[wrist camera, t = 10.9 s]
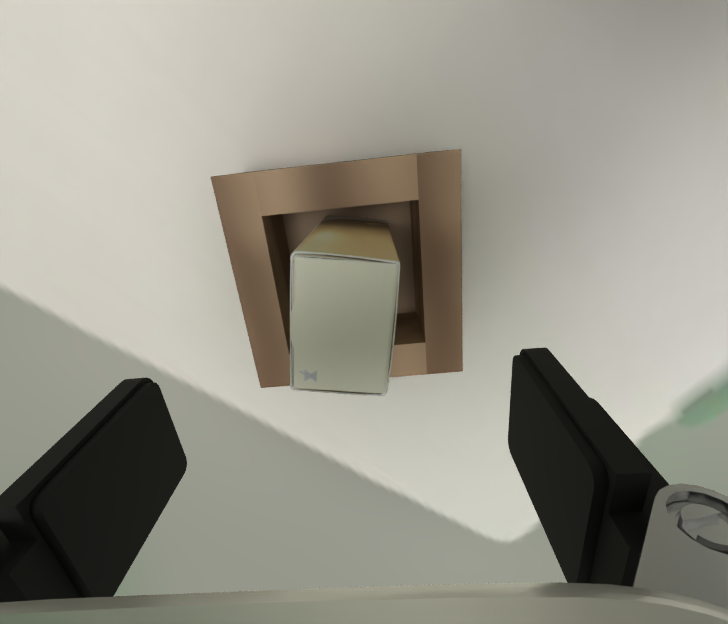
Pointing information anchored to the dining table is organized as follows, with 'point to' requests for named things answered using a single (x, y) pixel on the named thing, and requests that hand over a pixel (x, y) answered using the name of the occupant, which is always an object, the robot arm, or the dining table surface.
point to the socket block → (354, 199)
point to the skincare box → (343, 307)
